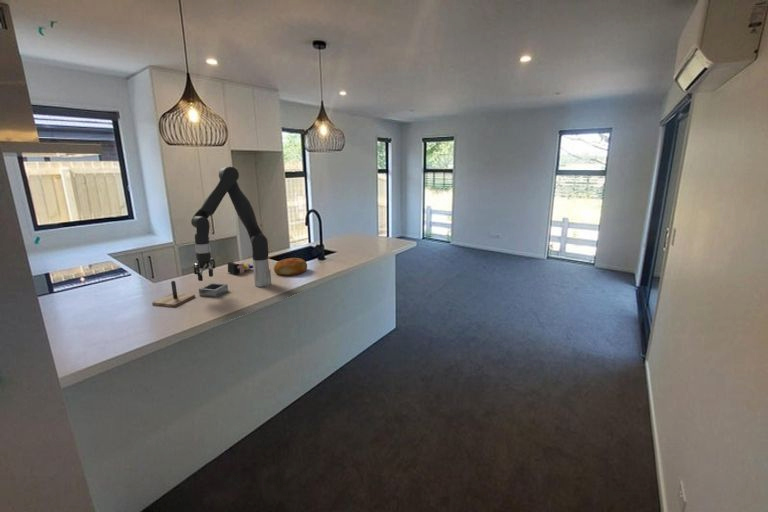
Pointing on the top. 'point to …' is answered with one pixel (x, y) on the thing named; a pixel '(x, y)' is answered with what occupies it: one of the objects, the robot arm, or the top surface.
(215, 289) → the link
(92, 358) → the top surface
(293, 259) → the bread
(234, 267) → the toy
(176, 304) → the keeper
